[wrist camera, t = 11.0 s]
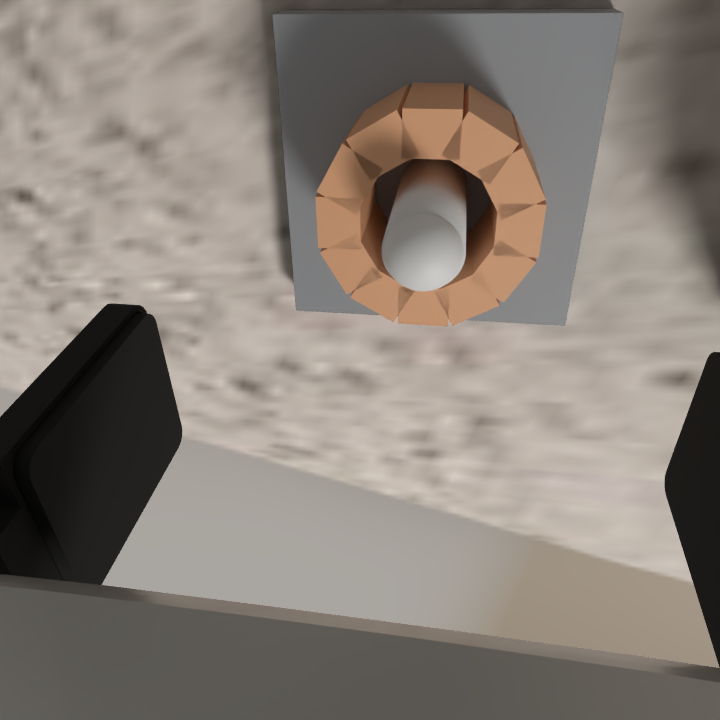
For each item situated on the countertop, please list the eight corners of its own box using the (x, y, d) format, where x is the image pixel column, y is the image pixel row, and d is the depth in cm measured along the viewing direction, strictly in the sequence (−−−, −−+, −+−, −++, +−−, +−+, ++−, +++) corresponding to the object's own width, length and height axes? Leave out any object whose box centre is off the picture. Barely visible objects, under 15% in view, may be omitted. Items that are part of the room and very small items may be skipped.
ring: (335, 81, 22) (310, 106, 18) (546, 83, 21) (560, 110, 17) (341, 269, 25) (321, 318, 22) (519, 278, 24) (527, 331, 21)
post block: (283, 10, 22) (195, 42, 15) (614, 8, 21) (689, 43, 13) (303, 294, 28) (247, 412, 21) (560, 307, 27) (593, 440, 19)
